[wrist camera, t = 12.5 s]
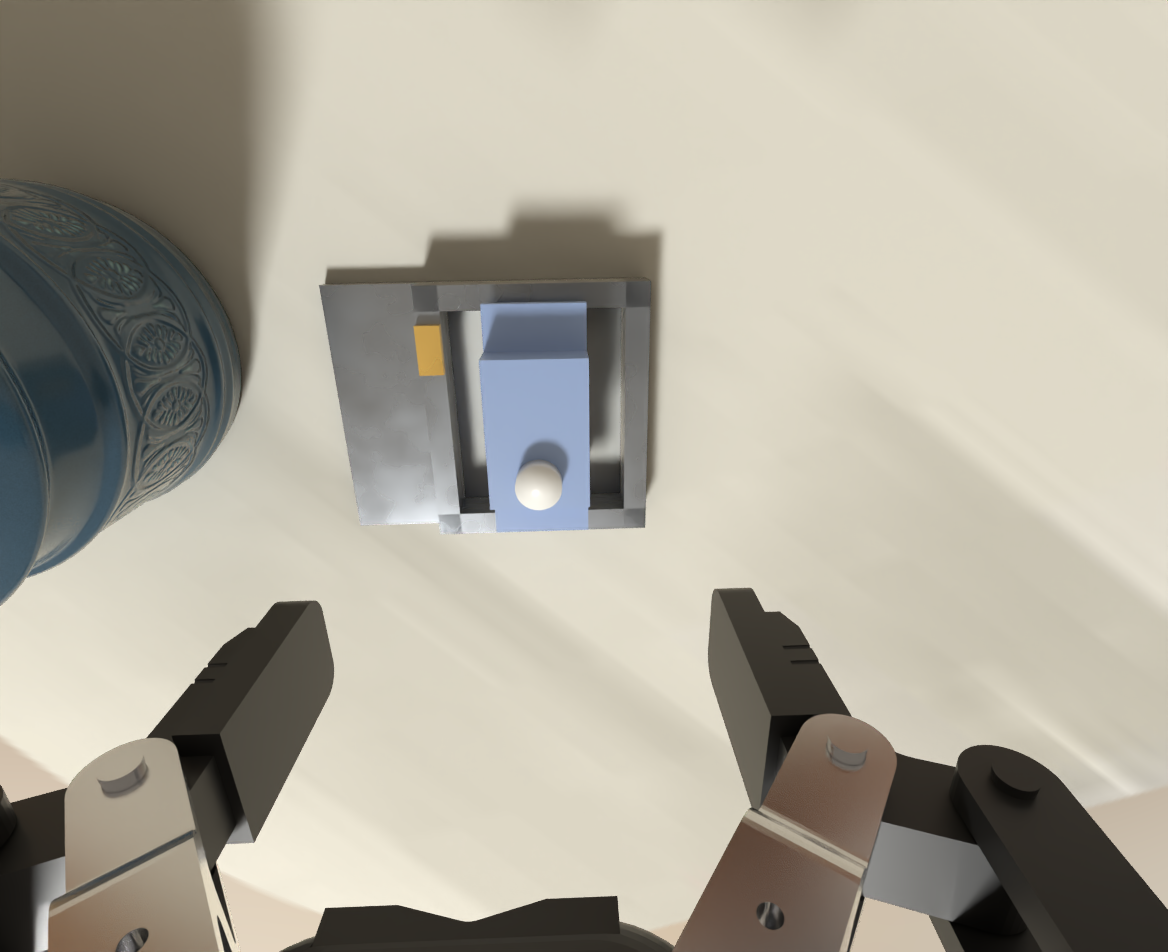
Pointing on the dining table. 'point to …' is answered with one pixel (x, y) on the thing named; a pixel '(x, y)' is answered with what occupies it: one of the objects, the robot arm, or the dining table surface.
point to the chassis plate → (428, 402)
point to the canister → (98, 372)
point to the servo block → (536, 414)
